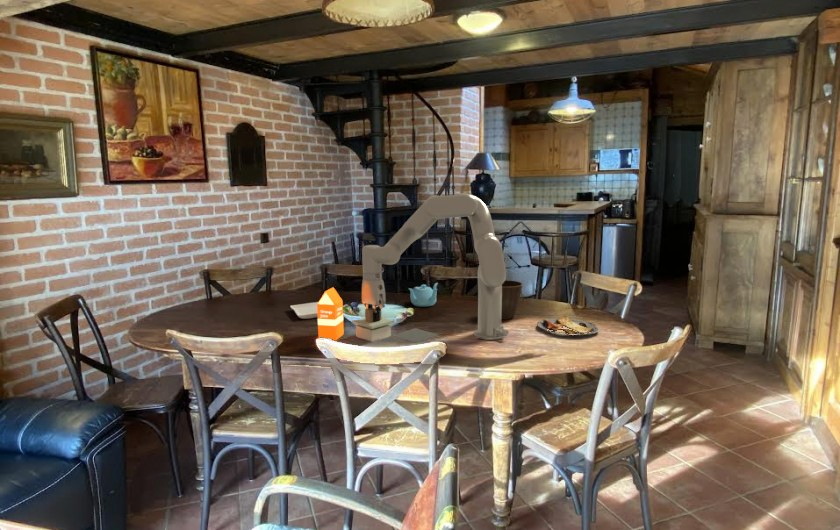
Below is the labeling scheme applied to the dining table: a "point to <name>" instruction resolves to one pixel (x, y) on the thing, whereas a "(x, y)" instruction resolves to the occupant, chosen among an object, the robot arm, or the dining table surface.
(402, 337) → the mat
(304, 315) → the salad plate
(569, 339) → the dining table surface
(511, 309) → the plant pot
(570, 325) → the food plate
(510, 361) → the dining table surface
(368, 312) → the lid
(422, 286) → the teapot
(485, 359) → the dining table surface
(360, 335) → the open tan box
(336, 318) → the orange juice
